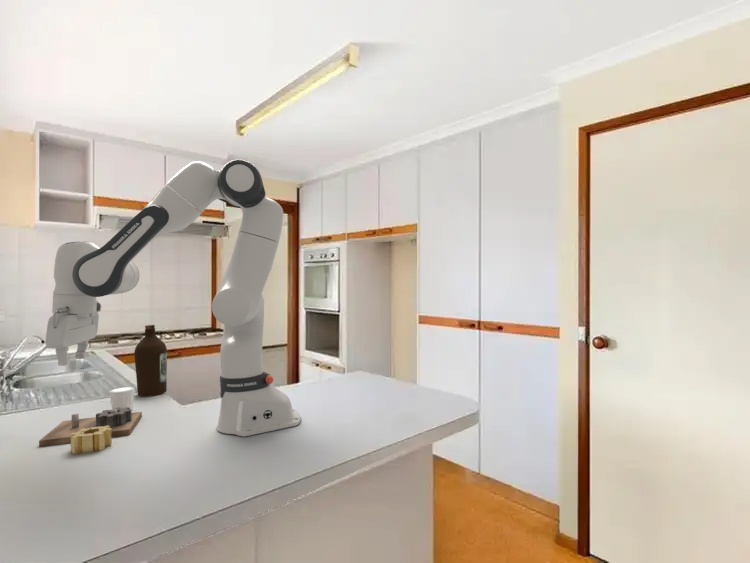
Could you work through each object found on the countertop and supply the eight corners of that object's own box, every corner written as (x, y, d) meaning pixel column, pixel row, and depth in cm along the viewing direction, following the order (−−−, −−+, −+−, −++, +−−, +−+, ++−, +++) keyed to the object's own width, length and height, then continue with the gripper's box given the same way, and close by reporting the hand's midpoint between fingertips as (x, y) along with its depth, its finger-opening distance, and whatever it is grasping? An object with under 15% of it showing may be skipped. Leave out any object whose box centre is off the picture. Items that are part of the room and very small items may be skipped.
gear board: (141, 416, 126) (141, 400, 126) (129, 434, 111) (129, 416, 111) (63, 426, 120) (62, 408, 120) (39, 446, 105) (38, 426, 105)
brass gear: (115, 439, 108) (114, 424, 108) (107, 449, 102) (107, 433, 102) (76, 445, 105) (76, 429, 105) (66, 455, 99) (66, 438, 99)
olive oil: (131, 398, 147) (128, 327, 147) (141, 390, 158) (138, 324, 158) (164, 395, 150) (161, 325, 150) (171, 388, 160) (169, 323, 160)
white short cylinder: (123, 415, 129) (122, 392, 129) (104, 414, 130) (103, 391, 130) (140, 408, 135) (139, 386, 135) (122, 407, 137) (121, 386, 137)
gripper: (70, 308, 95) (68, 369, 95) (103, 304, 115) (101, 354, 115) (38, 308, 94) (35, 370, 94) (77, 304, 114) (75, 355, 113)
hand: (72, 361), depth 104 cm, fingers open, 8 cm apart
